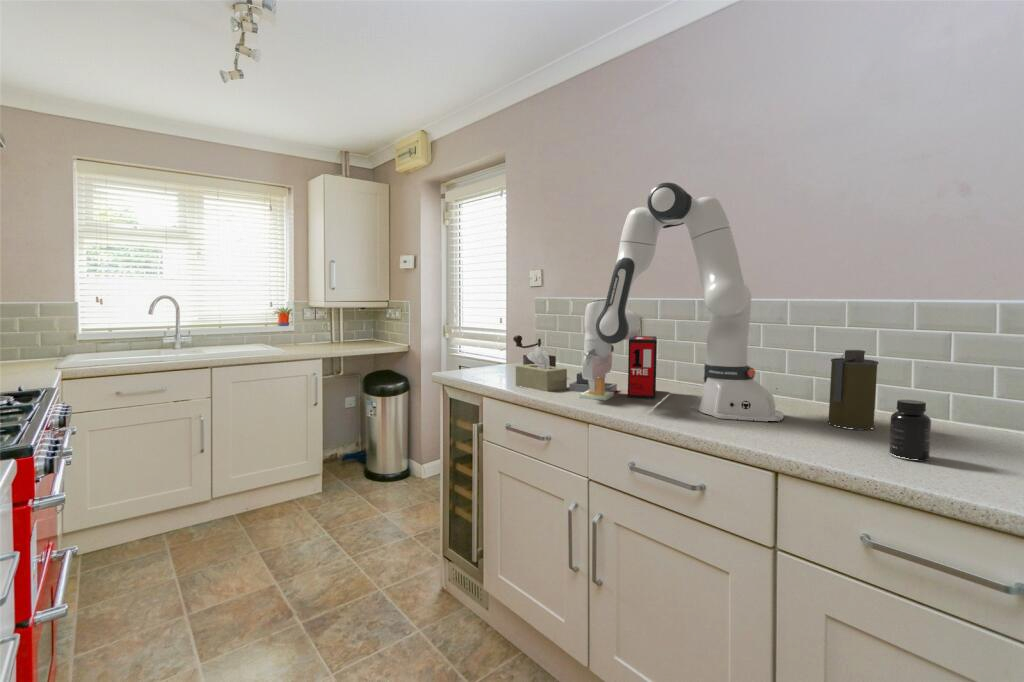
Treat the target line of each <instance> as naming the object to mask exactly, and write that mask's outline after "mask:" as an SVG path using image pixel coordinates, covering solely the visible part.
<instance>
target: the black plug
mask: <svg viewBox="0 0 1024 682" xmlns="http://www.w3.org/2000/svg"><path fill="white" fill-rule="evenodd" d="M576 381H577V384H584V385H589V383H588V380H587V379H583V377H582V371H581V372H577V373H576Z"/></svg>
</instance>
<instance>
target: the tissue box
mask: <svg viewBox="0 0 1024 682" xmlns="http://www.w3.org/2000/svg"><path fill="white" fill-rule="evenodd" d="M525 355H526V356H527V358H528V359H529V360H531V361H532V362H534V363H535V364H527V365H523V364H519V365H515V386H516V385H517V386H522V387H526V388H525V389H533V390H538V391H542V392H552V391H554V392H555V391H559V390H565V389H567V388H568V387H567V385H568V381H567V380H568V378H567V377H568V374H567V373H568V369H567V368H562V367H558V366H556V367H552V366H550V363H549V356H548V355H549V354H548V351H547V350H542V349H541V346H540V347H538V346H537V347H536V348H535V349H533V351H532V350H531V351H530V352H529V353H528V354H525ZM517 386H516V387H517ZM522 387H521V388H522Z"/></svg>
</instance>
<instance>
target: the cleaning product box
mask: <svg viewBox="0 0 1024 682" xmlns="http://www.w3.org/2000/svg"><path fill="white" fill-rule="evenodd" d="M657 347H658V340H657V336H656V335H655V336H653V335H652V336H651V335H646V336H645V335H636V336H634V337H632V338H630V339H628V357H627V358H628V359H627V360H628V362H627V363H628V364H627V365H628V367H627V374H628V375H627V398H628V399H629V398H630V399H648V400H650V399H651V400H656V391H657V385H656V384H657V353H658V352H657V351H658V349H657Z"/></svg>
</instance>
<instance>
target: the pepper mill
mask: <svg viewBox="0 0 1024 682" xmlns="http://www.w3.org/2000/svg"><path fill="white" fill-rule="evenodd" d="M522 340H523V337H522V335H519V334H518V335H514V337H513V338H512V341H513V342H514V343H515V347H519V348H522V349H529V348H533V347H536V346H537V347H540V348H541V344H542V338H538V339H537V341H538V342H537V343H534V344H529V345H523V344H522ZM526 355H527V354H523V355H522V361H523V362H522V365H527V364H535V363H534V362H532V361H531V360H529V359H528V358H527V356H526ZM548 356H549V363H550V366H552V367H557V366H556V363H557V360H556V359H557V358H556V355H552V354H548Z"/></svg>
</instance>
